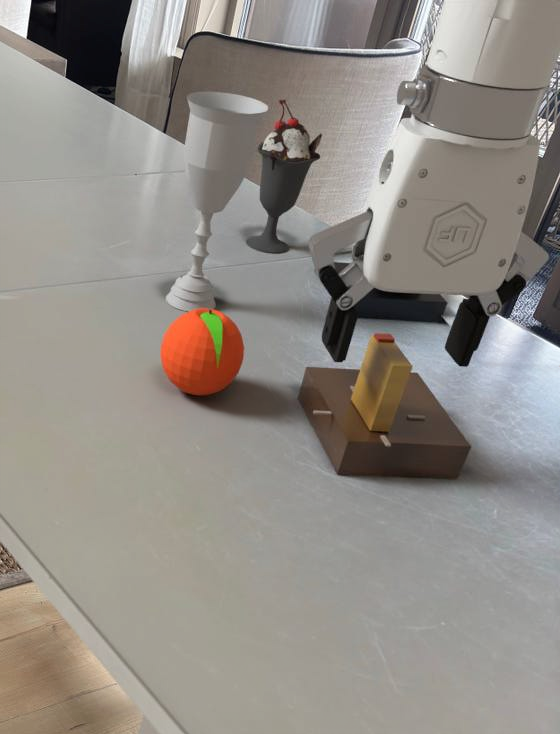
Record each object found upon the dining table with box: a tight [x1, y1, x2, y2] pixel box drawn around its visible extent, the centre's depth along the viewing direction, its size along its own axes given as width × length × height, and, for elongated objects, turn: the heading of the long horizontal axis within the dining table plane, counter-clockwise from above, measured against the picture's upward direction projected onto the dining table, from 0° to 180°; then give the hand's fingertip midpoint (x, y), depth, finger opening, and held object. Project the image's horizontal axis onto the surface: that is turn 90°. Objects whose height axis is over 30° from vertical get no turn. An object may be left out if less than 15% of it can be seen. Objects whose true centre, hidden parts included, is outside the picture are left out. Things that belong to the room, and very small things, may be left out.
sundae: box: [245, 99, 323, 254], centre depth 106 cm, size 7×7×15 cm
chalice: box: [165, 91, 269, 312], centre depth 91 cm, size 7×7×18 cm
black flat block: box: [334, 261, 448, 324], centre depth 101 cm, size 10×9×4 cm
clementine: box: [160, 308, 245, 396], centre depth 81 cm, size 8×7×7 cm
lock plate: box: [297, 366, 472, 480], centre depth 79 cm, size 12×13×3 cm
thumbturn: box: [351, 332, 413, 432], centre depth 75 cm, size 5×2×6 cm, turn 6°
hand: (395, 356), depth 74 cm, fingers open, 9 cm apart
